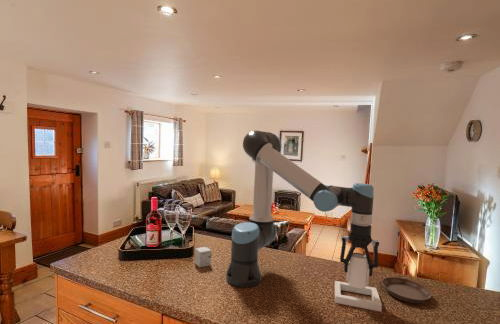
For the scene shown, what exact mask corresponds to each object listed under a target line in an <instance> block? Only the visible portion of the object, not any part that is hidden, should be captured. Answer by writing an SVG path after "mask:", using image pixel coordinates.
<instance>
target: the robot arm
mask: <svg viewBox="0 0 500 324" xmlns="http://www.w3.org/2000/svg"><path fill="white" fill-rule="evenodd" d="M242 149H243V150H244V152H245V153H246V155H247V156H248V157H249V158H251V160H252V162H253V163H254V182H253V203H252V214H251V215H250V216H249V218H248V219H249V221H245V222H240V223H238V224H235V225H234V226H233V227H232V232H231V249H230V251H231V252H230V262H229V265H228V268H227V270H226V272H225V275H226V276H225V280H226V282H227V283H228V284H229V285H232V286H235V287H237V288H250V287H251V288H252V287H254V286H257V285H259V284H260V283H261V281H262V273H261V269H260V265H259V251H260V250H261V249H263V248H265V247H267V246H269V245H271V244H272V243H273V242H274V240H276V237H277V233H278V230H277V226H276V224H275V221H274V220H275V219H274V217H273V216H272V201H273V200H272V198H273V197H272V196H273V182H274V181H273V178H274V177H273V176H274V173H275V174H276V175H278V177H280V178H281V179H282V180H284V181H285V182H287V183H288V184H290V185H291V186H292V187H293V188H295V190H298V191H299V192H300V193H301V194H302V195H304V196H305V197H307V198H308V199H309V200H311V201H312V202H313V205H314V207H315V208H316V209H317V210H318V211H320V212H324V213H325V212H330V211H333V210H335V209H336V208H337V207H339V206H341V207H349V208H351V213H350V222H351V223H350V229H349V234H348V235H347V236H345V235H341V241H342V244H341V249H340V255H339V261H340V263H342V264H344V267H343V271H344V273H346V283H348V282H349V274H350V259H351V256H352V254H353V253H355V252H354V251H356V249H357V248H360V249H363V250H364V255H366V257H367V260H368V264H367V279H366V286H369V283H370V277H372V276H373V269H374V268H376V269H377V268H378V267H379V245H380V242H379V240H377V239H376V240H375V239H373V238H372V223H373V209H374V208H373V207H374V198H375V197H374V193H375V191H374V186H373V185H372V184H369V183H359V182H356V183H353V184H352V187H345V186H338V185H333V184H331V185H325V184H324V183H323V182H321V181H320V180H319V179H318V178H315V177H314V176H313V175H312V174H310V173H309V172H308V171H306V170H305V169H303V168H302V167H301V166H299V165H298V164H296V163H294V162H293V161H292V160H291V159H289V158H287V157H286V156H284V155H283V154H282V153H281V151H282V141H281V139H280V137H279V136H278V135H277V134H276V133H275V134H274V133H272V132H269V131H262V130H252V131H249V132H247V133H246V135H245V136H244V137H243V140H242ZM348 241H350V243H351V245H350V248H349V250H348V252H347V254H346V253H345V252H346V246H347V243H348ZM371 243H372V247H373V249H372V250H373V252H372V253H373V262H372V259H371V256H370V252H369V249H368V246H369V245H370V244H371ZM345 254H346V256H345Z"/></svg>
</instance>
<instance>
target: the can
mask: <svg viewBox="0 0 500 324" xmlns="http://www.w3.org/2000/svg"><path fill="white" fill-rule="evenodd" d="M349 263H350V274H349V282H347V283H349V285H350V286H351V287H353V288H356V289H364V288H365V287H366V286H367V285H366V279H367V266H368V265H369V264H368V260H367V257H366V254H365V253H361V252H353V254H352V256H351V259H350V261H349Z"/></svg>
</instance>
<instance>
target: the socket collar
mask: <svg viewBox="0 0 500 324" xmlns="http://www.w3.org/2000/svg"><path fill="white" fill-rule="evenodd" d="M341 291H345V292H351V293H357V294H361V295H366V296H370V297H371V299H366V298H361V297H356V296H351V295H344V294H342V293H341ZM334 303H335V304H341V305H345V306H351V307H354V308H355V307H356V308H361V309H365V310H366V309H367V310H371V311H376V312H381V313H382V308H383V304H382V301H381V298H380V296H379V292H378V290H377V287H373V286H369V285H366V287H365V288H364V289H356V288H353V287H351V286H350V285H349V283H348V282H344V281H339V280H334Z"/></svg>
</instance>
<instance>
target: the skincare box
mask: <svg viewBox="0 0 500 324" xmlns="http://www.w3.org/2000/svg"><path fill="white" fill-rule="evenodd" d="M211 262H212V249H210V248H209V247H208V246H202V247H195V248H194V264H195V265H196V266H198V268H203V267H207V266H208V267H209V266H212V264H211Z"/></svg>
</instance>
